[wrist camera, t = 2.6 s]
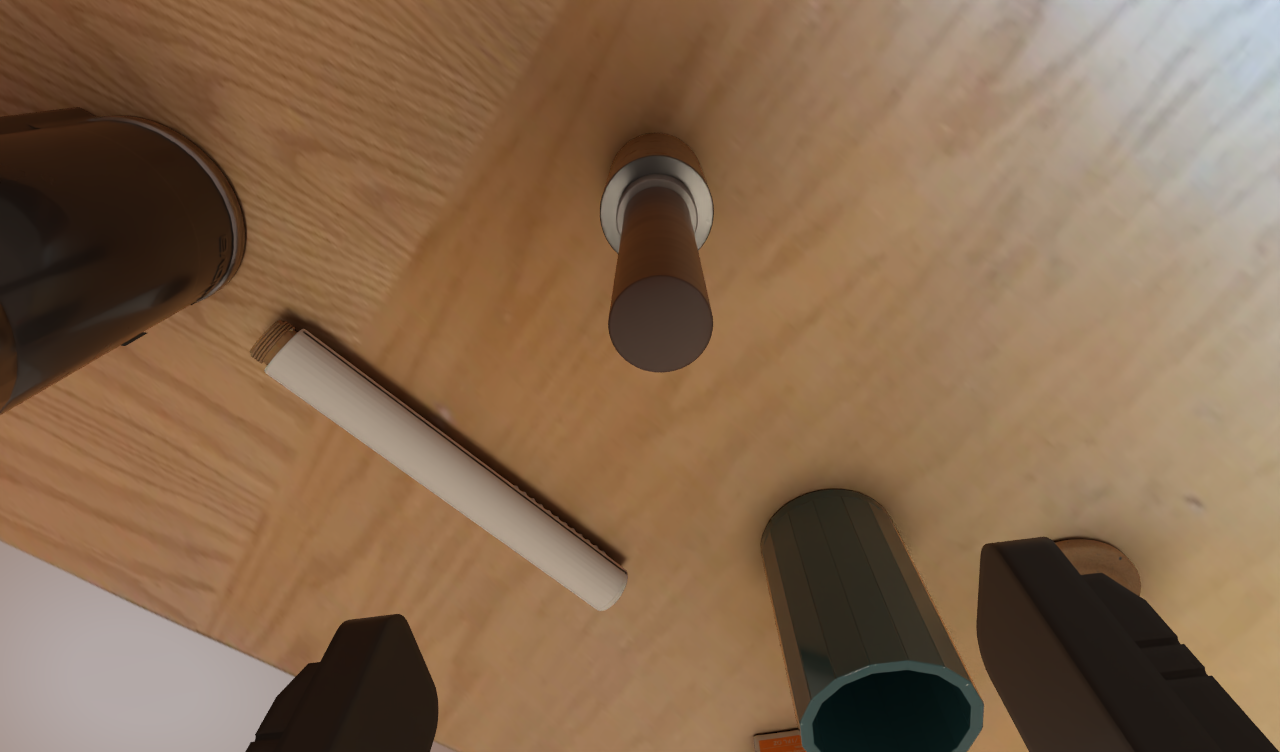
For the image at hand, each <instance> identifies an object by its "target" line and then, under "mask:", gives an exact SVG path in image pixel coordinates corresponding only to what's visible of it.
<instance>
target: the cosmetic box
mask: <svg viewBox="0 0 1280 752" xmlns="http://www.w3.org/2000/svg"><path fill="white" fill-rule="evenodd" d="M754 746H755V752H806V751H805V749H804V748H803V747H802V744H801V739H800V735H799V730H794V731H787V732H780V733H772V734H765V735H756V736H754Z"/></svg>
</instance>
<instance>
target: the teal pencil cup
mask: <svg viewBox="0 0 1280 752" xmlns="http://www.w3.org/2000/svg"><path fill="white" fill-rule="evenodd" d="M761 553H762V558H763V563H764V571H765V575H766V580H767V585H768V589H769V594H770V599H771V604H772V608H773V613H774V618H775V622H776V627H777V632H778V636H779V641H780V646H781V650H782V655H783V660H784V664H785V669H786V674H787V678H788V683H789V688H790V693H791V697H792V702H793V707H794V711H795V716H796V721H797V725H798V730H799V735H800V739H801V744H802V747H803V748H804V749H805V751H806V752H967V751H968V750H969V748H970V747H971V745H972V744H973V742H974V741H975V739H976V738H977V736H978V735H979V733H980V732H981V730H982V728H983V713H984V703H983V700H982V698H981V696H980V694H979V692H978V690H977V688H976V686H975V684H974V682H973V680H972V678H971V676H970V674H969V672H968V670H967V668H966V666H965V664H964V662H963V660H962V658H961V656H960V654H959V652H958V650H957V648H956V646H955V644H954V642H953V640H952V638H951V636H950V634H949V632H948V630H947V628H946V626H945V624H944V622H943V620H942V618H941V616H940V614H939V612H938V610H937V608H936V606H935V604H934V602H933V600H932V598H931V596H930V594H929V592H928V590H927V588H926V586H925V584H924V582H923V580H922V578H921V576H920V574H919V572H918V570H917V568H916V566H915V564H914V562H913V560H912V558H911V556H910V554H909V552H908V550H907V548H906V546H905V544H904V542H903V540H902V538H901V536H900V534H899V532H898V531H897V529H896V527H895V526H894V524H893V522H892V520H891V518H890V516H889V514H888V513H887V512H886V510H885V509H884V508H883V507H882V506H881V505H880V504H879V503H877V502H876V501H875V500H873V499H871V498H869V497H868V496H866V495H863V494H861V493H858V492H854V491H850V490H842V489H829V490H820V491H815V492H812V493H808V494H805V495H803V496H800V497H798V498H796V499H794V500H792V501H791V502H789V503H788V504H786V505H785V506H783V507H782V508H781V509H780V510H779V511H778V512H777V513H776V514H775V515H774V516H773V517H772V519H771V520H770V522H769V523H768V525H767V527H766V529H765V531H764V534H763V537H762V543H761Z"/></svg>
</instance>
